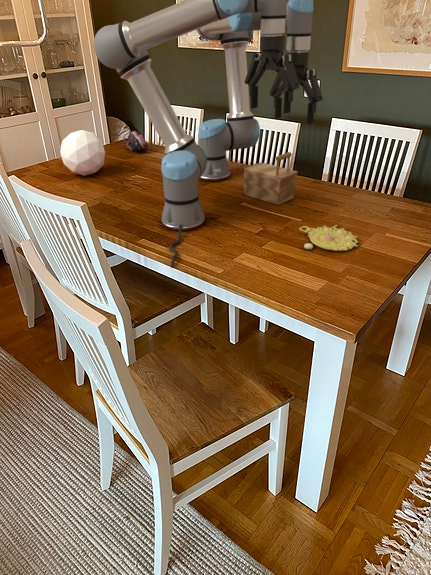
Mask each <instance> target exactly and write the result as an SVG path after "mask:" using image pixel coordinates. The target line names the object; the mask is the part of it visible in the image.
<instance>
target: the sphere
mask: <svg viewBox="0 0 431 575" xmlns="http://www.w3.org/2000/svg"><path fill="white" fill-rule="evenodd" d="M59 153H60V156H61V159H62V162H63V165H64V166H65V167H66V168H67V169H68V170H69V171H70V172H72V173H73V174H76V175H81V176H84V177H86V176H89V175H93V174H95V173H97V172H98V171H99V170H100V169H101V168H102V167H103V166H104V163H105V157H106V151H105V147H104V144H103V141H102V140H101V139H100V138H99V137H98V136H97V135H96V134H95V133H94V132H91V131H88V130H85V129H80V130H76V131H73V132H70V133H69V134H68V135H67V136H66V137H65V138H64V139H63V140H62V141H61V145H60V152H59Z"/></svg>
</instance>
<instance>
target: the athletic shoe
mask: <svg viewBox="0 0 431 575" xmlns="http://www.w3.org/2000/svg"><path fill="white" fill-rule="evenodd" d="M127 138H128V139H126V137H123V140H124V143H123V142H122V143H121V145H123V146H126V147H127V148H128V150H129V151H130V152H137V153H138V152H139V151H142V150H143V149H148V148H149V144H148V143H147V141H146V139H145V137H144V135H143V134H139V133H138V132H137V131H136V130H133V131H131V132H130V133H129V135H128V137H127Z"/></svg>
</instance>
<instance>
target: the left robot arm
mask: <svg viewBox="0 0 431 575" xmlns="http://www.w3.org/2000/svg"><path fill="white" fill-rule="evenodd" d="M287 2H288V0H183V1H179V2H177V3H175V4H173V5H170V6H167V7H166V8H163V9H160V10H159V11H156V12H153V13H151V14H148V15H146V16H144V17H142V18H139V19H137V20H136V19H135V20H134V21H132V22H129V21H127V20H123V21H121V22H118V23H115V24H108V25H105V26H103V27H101V28H100V29H98V31H97V32H96V34H95V35H94V39H93V50H94V54H95V55H96V57H97V59H98V61H99V62H100V63H101V64H103V65H104V66H105V67H106V68H110V69H115V70H116V73H118V75H119V78H120V79H124V80H126V81H127V82H128V84H129V85H130V87H131V88H132V90H133V92H134V94H135V96H136V97H137V99H138V101H139V103H140V104H141V107H142V108H143V110H144V112H145V114H146V115H147V117H148V119H149V121H150V122H151V124H152V126H153V128H154V129H155V131H156V133H157V134H158V137H159V138H160V141H161V142H162V143H163V145H164V151H163V154H164V156H163V157H162V159H161V167H160V168H161V173H162V174H161V176H162V184H163V194H164V204H163V209H162V213H161V219H160V220H161V225H162V227H163V228H165V229H167V230H170V231H175V232H176V231H177V232H178V233H177V239H176V240H175V241H173V242H172V243H171V244H169V249H170V250H171V251H172V252H173V253H174V254H173V256H172V258H171V261H170V262H171V263H170V268H171V269H174V268H175V261H176V259H177V257H178V251H177V250H176V249H175V248H173V247H174V246H176V245H177V244H179V243H180V241H181V238H182V232H185V231H186V232H187V231H192V230H195V229H198V228H201V227H202V226H203V225H204V224H205V223H206V216H205V212H204V210H203V208H202V204H201V202H200V196H199V181H200V177H201V175H202V174H203V173H204V171H205V169H206V165H207V156H206V153H205V151H204V150H203V148H202V147H200V146H199V144H197V142H196V140H195V138H194V137H193V136H192V135H190V134H188V133H186V131H185V129H184V127H183V125H182V123H181V122H180V119H179V118H178V116H177V114H176V111H175V110H174V109H173V107H172V105H171V103H170V101H169V99H168V97H167V95H166V93H165V92H164V90H163V88H162V86H161V84H160V83H159V81H158V79H157V76H156V75H155V73H154V71H153V69H152V68H151V64H152V58H151V56H150V54H149V52H148V50H149V49H151V48H154V47H156V46H159V45H161V44H163V43H167V42H169V41H172V40H174V39H177V38H179V37H181V36H184V35H186V34H189V33H191V32H194V31H197V29H199V28H202V27H204V26H207V25H209V24H212V23H214V22H217V21H219V20H223V19H225V18H228V17H230V16H233V15H236V14H238V13H254V12H255V13H258V12H261V24H260V30H259V34H260V35H261V36H260V38H259V50H260V52H259V51H258V52H253V53H252V58H251V63H250V65H249V68H248V70H247V76H246V79H245V84H248V88H249V98H250V109H256V108H259V106H258V105H259V86H258V83H259V81H260V80H261V78H262V76H264V74H265V73H266V71H269V70H270V71H275V72H276V74H277V73H278V75H279V76H280V78H281V80H282V82H281V83H283V84H284V86H285V88H286V89H285V91H284V92H283V107H282V108H283V109H282V113H283V114H284V115H285V114H286V115H287V114H289V113H291V110H292V109H291V106H292V103H293V101H294V91H295V90H298V89H300V83H299V82H298V79H297V76H296V72H295V69H294V65H293V59H292V54H288V55H286V54H285V53H284V50H285V49H286V37H285V34H286V32H287V29H286V12H287ZM260 61H261V62H260ZM285 68H286V70H285ZM286 71H287V72H286Z"/></svg>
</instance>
